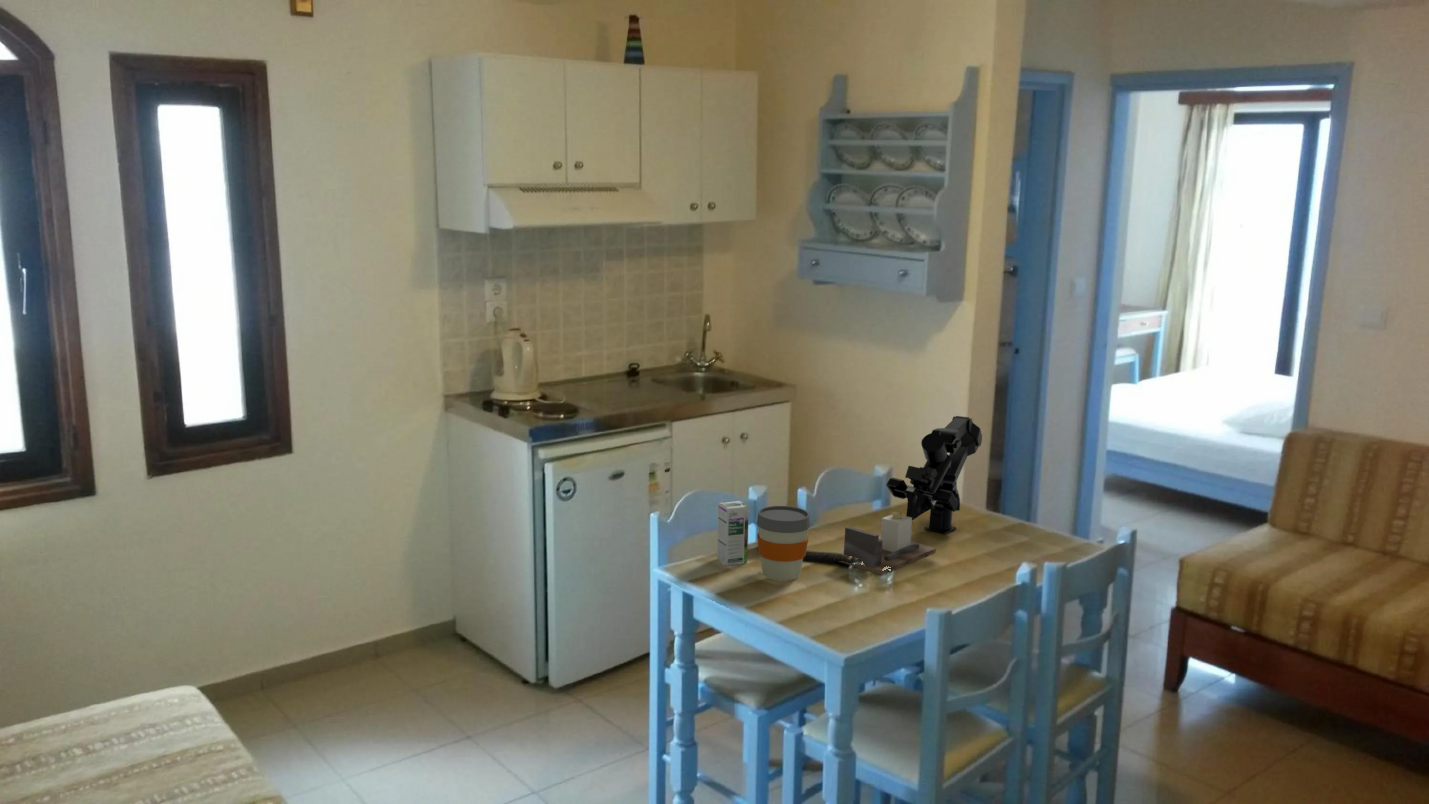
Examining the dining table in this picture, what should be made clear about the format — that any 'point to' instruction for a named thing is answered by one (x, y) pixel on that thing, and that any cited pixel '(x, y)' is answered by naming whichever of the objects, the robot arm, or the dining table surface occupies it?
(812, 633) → the dining table surface
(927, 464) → the robot arm
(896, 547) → the white block with knob
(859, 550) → the brown board with frame
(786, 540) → the reusable coffee cup
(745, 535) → the syrup box
